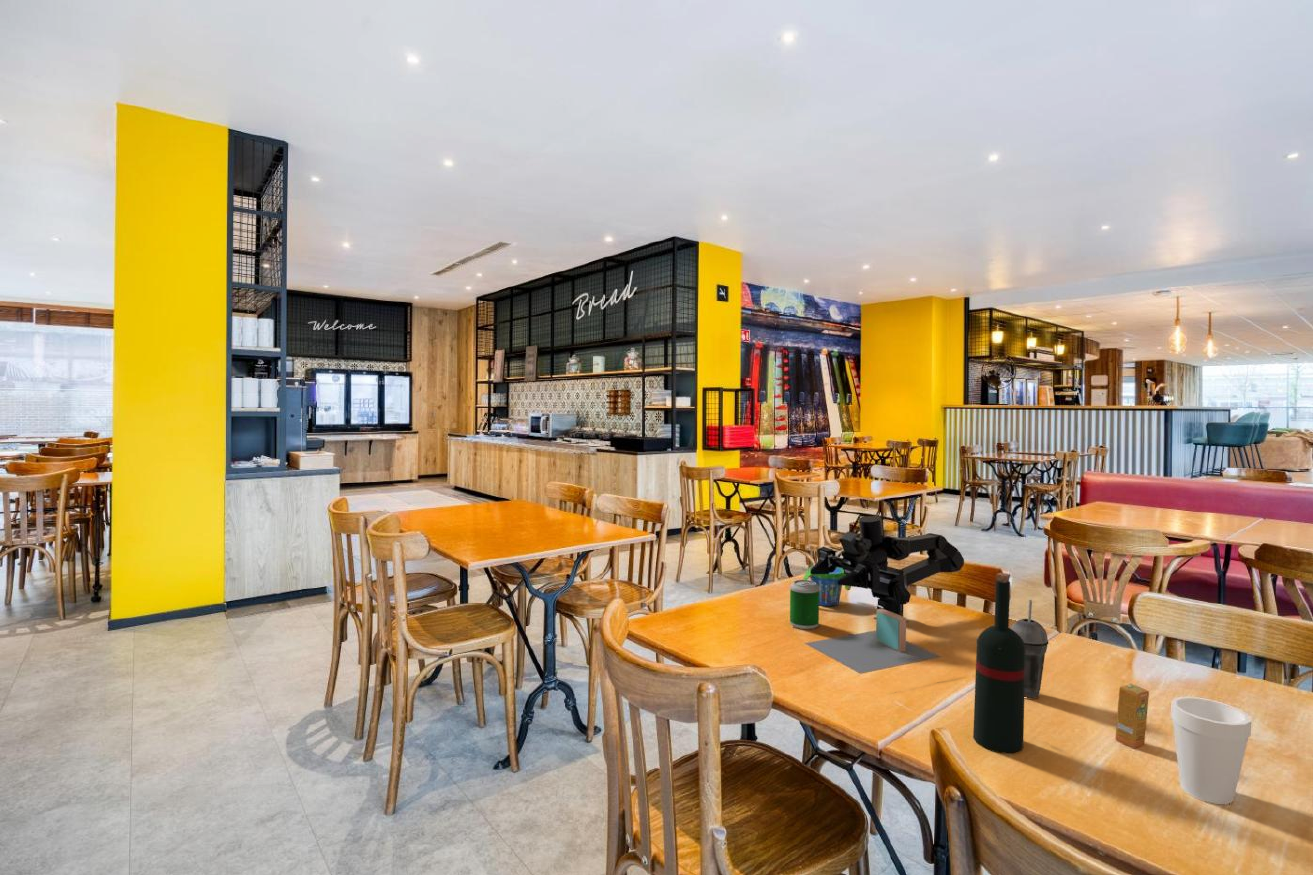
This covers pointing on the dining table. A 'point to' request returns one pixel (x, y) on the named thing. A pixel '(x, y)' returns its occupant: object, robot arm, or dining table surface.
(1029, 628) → the beverage cup
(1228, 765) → the foam cup
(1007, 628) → the wine bottle
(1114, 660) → the dining table surface
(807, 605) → the soda can
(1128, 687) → the supplement box
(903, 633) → the terracotta tile
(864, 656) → the slate mat
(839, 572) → the snack cup
